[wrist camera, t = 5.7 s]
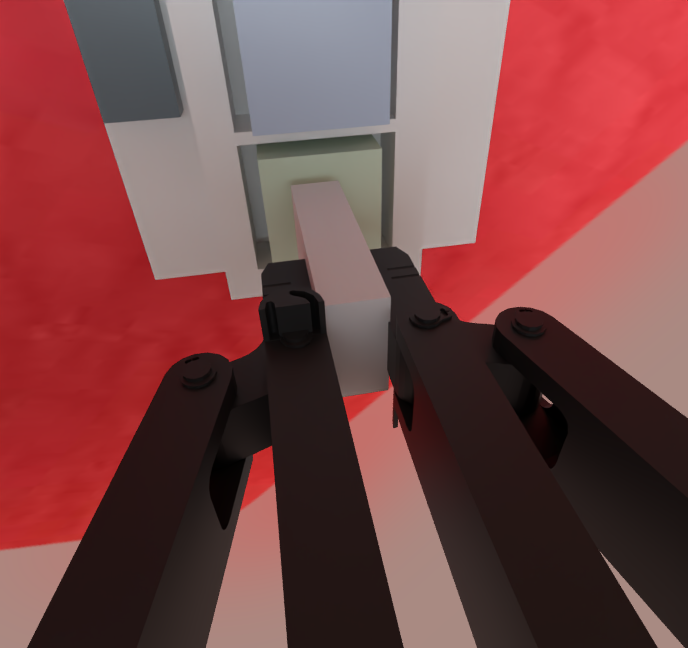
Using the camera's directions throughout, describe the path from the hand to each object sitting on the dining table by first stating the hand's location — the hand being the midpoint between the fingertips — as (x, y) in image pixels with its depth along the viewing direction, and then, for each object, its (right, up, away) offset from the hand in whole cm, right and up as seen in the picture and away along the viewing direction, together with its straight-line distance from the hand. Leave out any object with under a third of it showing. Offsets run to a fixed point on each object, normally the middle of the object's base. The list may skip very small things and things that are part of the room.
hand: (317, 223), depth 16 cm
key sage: (0, +2, +3) cm, 4 cm away
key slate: (0, +5, -1) cm, 6 cm away
